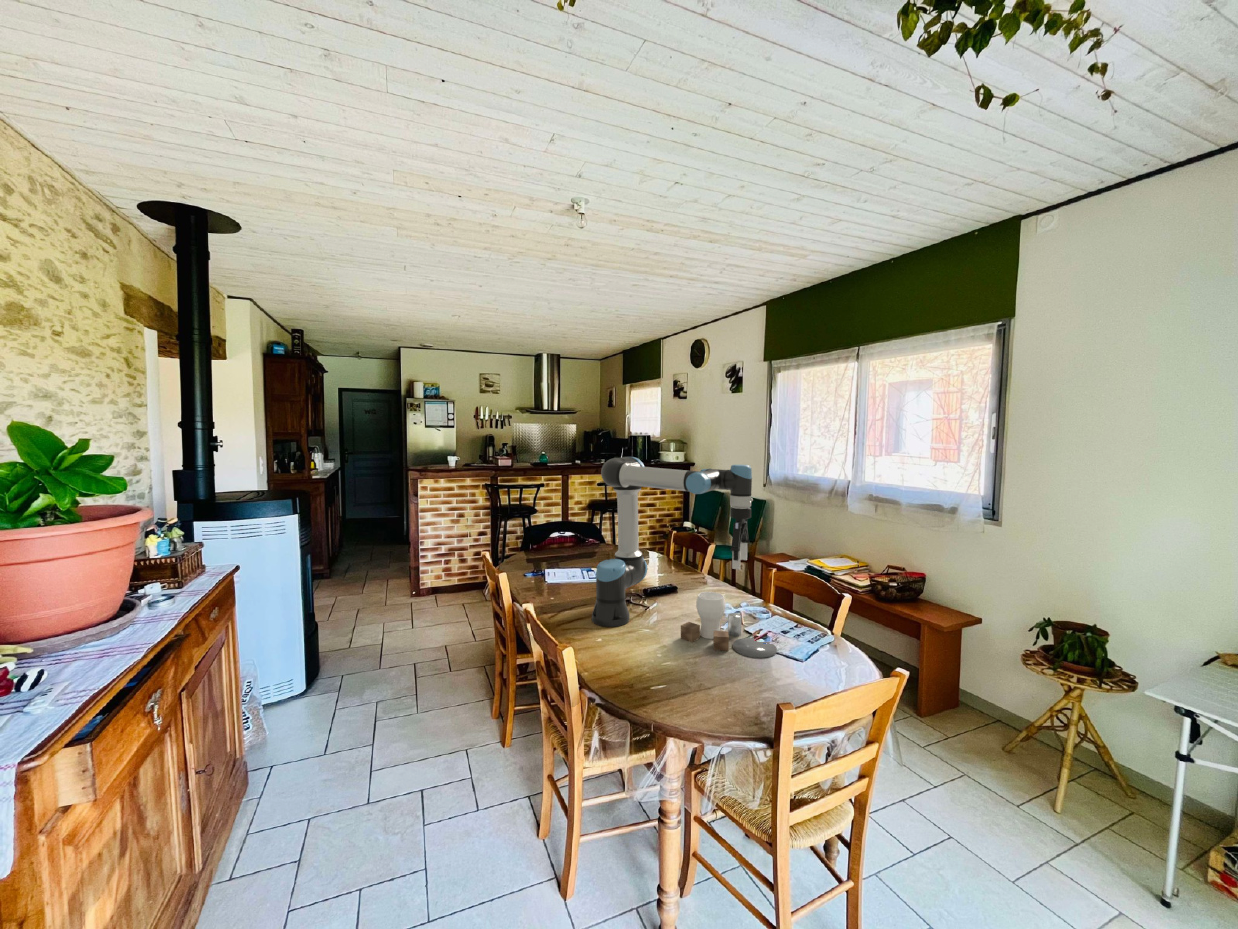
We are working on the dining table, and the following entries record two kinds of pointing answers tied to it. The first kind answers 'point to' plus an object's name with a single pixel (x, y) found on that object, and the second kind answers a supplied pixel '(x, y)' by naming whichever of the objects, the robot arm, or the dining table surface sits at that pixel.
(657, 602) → the dining table surface
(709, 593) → the cup
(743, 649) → the disc
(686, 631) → the walnut block
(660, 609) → the dining table surface
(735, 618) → the grey tin
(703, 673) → the dining table surface
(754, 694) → the dining table surface
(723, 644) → the walnut block
